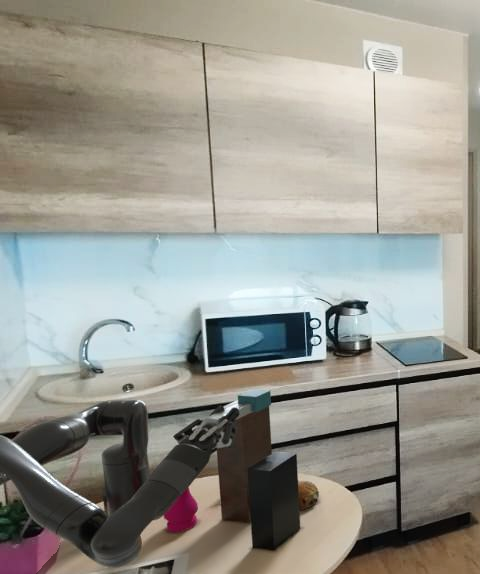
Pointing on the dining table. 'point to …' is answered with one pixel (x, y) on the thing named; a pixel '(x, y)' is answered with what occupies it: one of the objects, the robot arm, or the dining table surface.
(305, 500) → the bread roll
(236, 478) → the plinth
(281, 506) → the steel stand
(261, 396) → the handle bar
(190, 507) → the pepper mill
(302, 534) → the dining table surface
